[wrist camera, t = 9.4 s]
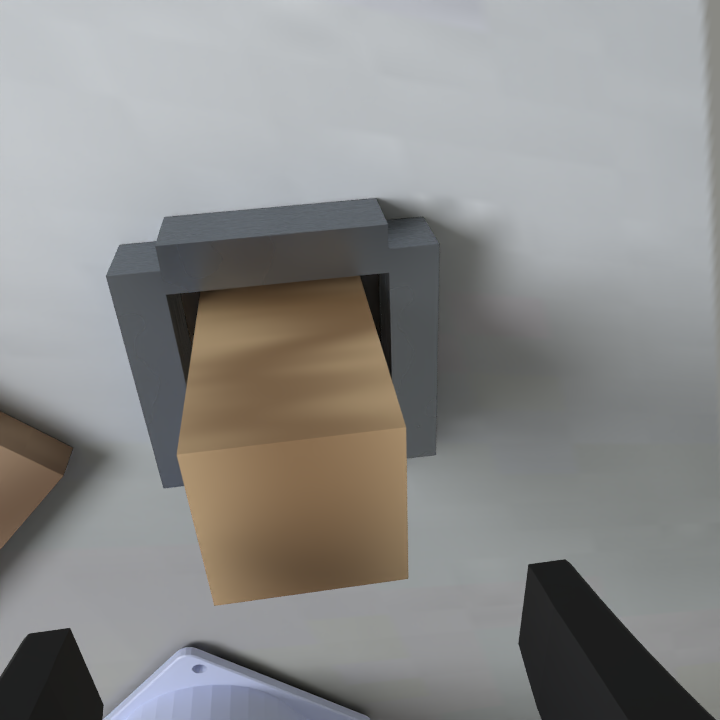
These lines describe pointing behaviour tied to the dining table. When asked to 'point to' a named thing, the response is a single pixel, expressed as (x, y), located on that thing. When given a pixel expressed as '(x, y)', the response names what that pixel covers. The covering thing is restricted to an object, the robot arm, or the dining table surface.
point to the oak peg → (293, 442)
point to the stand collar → (26, 471)
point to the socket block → (274, 266)
